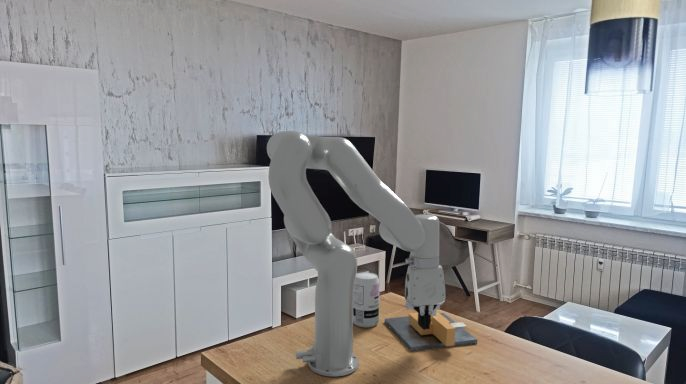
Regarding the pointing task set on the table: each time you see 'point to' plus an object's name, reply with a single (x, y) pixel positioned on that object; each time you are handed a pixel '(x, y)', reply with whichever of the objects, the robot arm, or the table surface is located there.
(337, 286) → the robot arm
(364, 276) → the supplement can
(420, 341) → the base plate
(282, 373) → the table surface
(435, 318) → the tan wooden bracket
